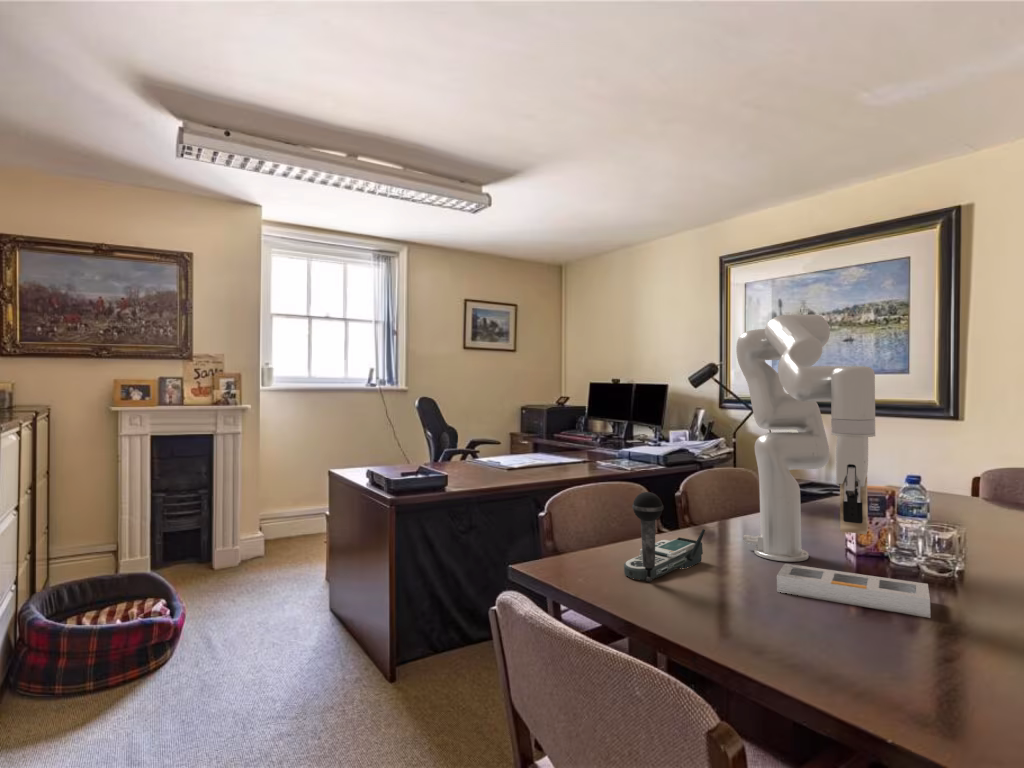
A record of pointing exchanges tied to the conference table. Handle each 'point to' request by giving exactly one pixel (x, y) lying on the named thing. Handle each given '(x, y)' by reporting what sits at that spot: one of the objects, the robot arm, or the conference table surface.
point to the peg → (862, 527)
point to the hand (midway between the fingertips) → (853, 518)
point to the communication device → (667, 557)
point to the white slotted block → (855, 589)
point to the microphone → (648, 526)
